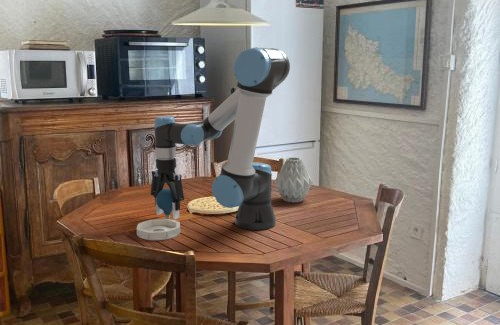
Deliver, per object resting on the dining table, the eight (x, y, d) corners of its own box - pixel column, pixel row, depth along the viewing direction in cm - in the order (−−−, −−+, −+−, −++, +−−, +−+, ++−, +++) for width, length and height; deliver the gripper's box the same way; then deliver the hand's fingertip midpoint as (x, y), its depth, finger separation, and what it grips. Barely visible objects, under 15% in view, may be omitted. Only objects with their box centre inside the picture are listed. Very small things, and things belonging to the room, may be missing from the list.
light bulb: (157, 223, 190) (156, 192, 187) (155, 217, 198) (154, 187, 195) (180, 221, 192) (179, 190, 190) (177, 215, 200) (176, 185, 198)
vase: (271, 204, 215) (271, 161, 212) (278, 194, 231) (279, 154, 227) (309, 206, 212) (310, 163, 208) (314, 196, 227) (315, 156, 224)
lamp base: (189, 231, 181) (188, 224, 180) (157, 243, 169) (157, 235, 168) (159, 223, 190) (159, 216, 189) (128, 234, 178) (127, 226, 177)
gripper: (193, 159, 187) (194, 218, 191) (153, 153, 199) (156, 209, 204) (178, 162, 181) (180, 223, 185) (139, 156, 193) (141, 213, 198)
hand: (167, 216), depth 195 cm, fingers closed on light bulb, 8 cm apart
